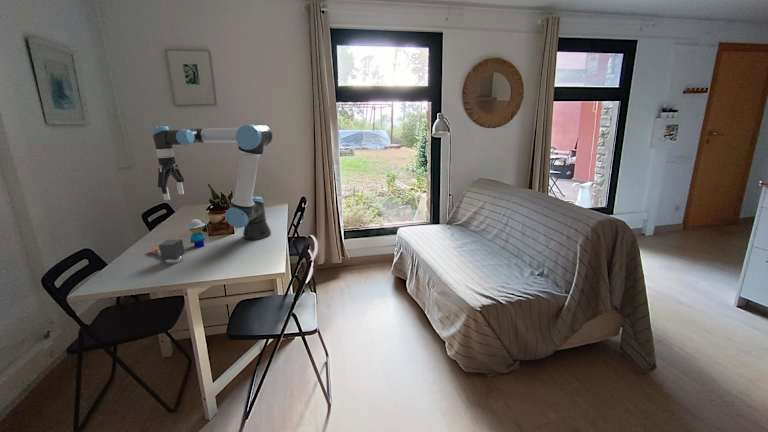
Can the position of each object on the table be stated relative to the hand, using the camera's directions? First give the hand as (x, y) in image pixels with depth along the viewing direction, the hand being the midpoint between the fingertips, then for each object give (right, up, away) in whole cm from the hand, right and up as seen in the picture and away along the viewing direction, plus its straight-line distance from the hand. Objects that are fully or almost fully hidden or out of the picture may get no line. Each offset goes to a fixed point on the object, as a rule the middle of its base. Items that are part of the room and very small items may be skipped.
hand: (174, 196), depth 184 cm
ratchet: (+2, -31, -11) cm, 33 cm away
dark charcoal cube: (+11, -30, -18) cm, 36 cm away
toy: (+12, -27, +3) cm, 29 cm away
